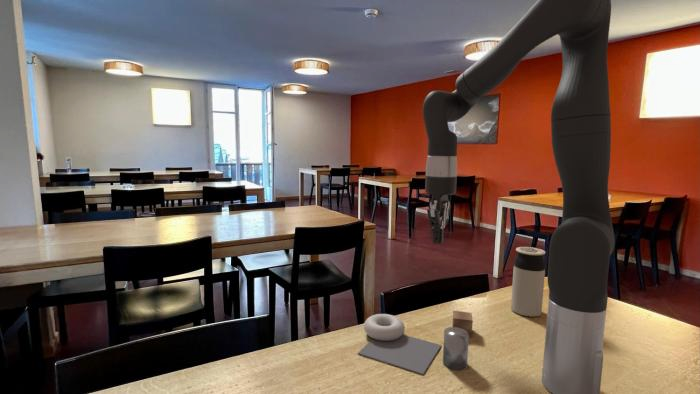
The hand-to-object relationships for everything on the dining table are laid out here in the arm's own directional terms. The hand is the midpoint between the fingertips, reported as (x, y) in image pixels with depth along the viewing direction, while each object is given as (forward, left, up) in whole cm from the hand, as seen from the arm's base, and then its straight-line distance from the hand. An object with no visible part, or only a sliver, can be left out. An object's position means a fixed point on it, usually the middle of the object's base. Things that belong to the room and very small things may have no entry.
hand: (438, 242), depth 93 cm
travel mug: (-20, -22, -22) cm, 37 cm away
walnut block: (-7, 0, -22) cm, 23 cm away
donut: (+4, +10, -20) cm, 23 cm away
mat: (+3, +16, -22) cm, 27 cm away
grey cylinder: (-9, +15, -22) cm, 28 cm away
